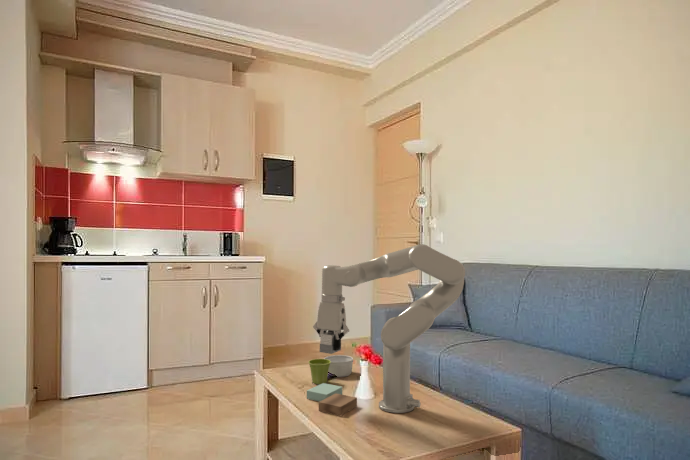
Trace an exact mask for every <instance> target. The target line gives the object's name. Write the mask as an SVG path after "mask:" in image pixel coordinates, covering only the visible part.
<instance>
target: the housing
mask: <svg viewBox="0 0 690 460" xmlns="http://www.w3.org/2000/svg"><path fill="white" fill-rule="evenodd" d="M335 339H336V336H335V332H334V331H329V330H327V332H326V333H322V334H321V337H320V341H321V343H319V353H323V354H330V355H333V354H335V353H338V352H340V351H342V347H341V348H340V350H337V351H335V344H334V343H335Z"/></svg>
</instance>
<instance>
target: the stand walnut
mask: <svg viewBox="0 0 690 460" xmlns="http://www.w3.org/2000/svg"><path fill="white" fill-rule="evenodd" d="M357 406H358V397H355V396H351V395H344V394H342V395H341V394H336V393H335V394H333V395H332V396H330V397H328V398H326V399H324V400H322V401H318V411H319V412H323V413H326V414H327V413H328V414H330V415H335V416H339V417H341V416H343V415H345V414H347V413H348V412H349V411H351V410H353V409H355V408H357Z"/></svg>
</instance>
